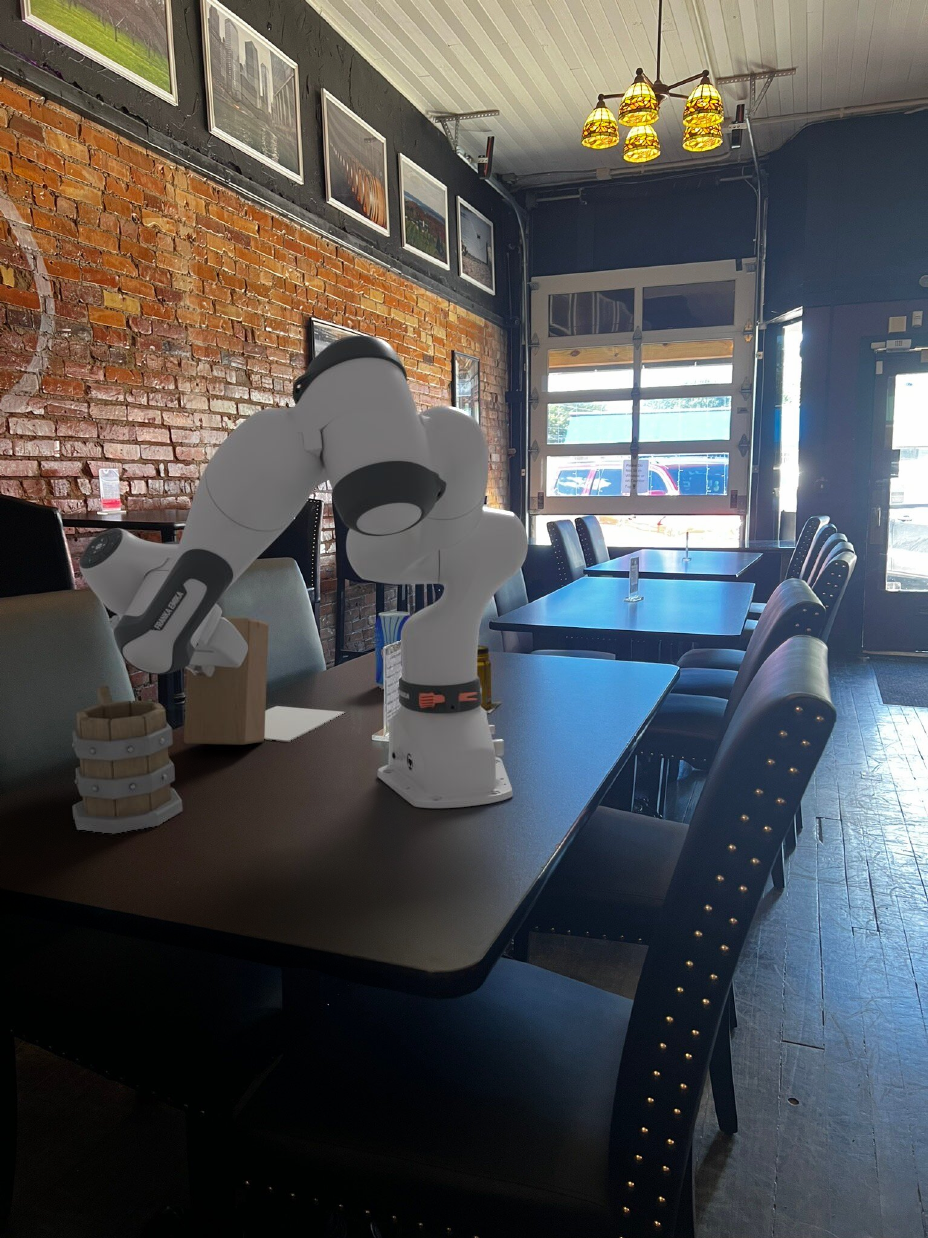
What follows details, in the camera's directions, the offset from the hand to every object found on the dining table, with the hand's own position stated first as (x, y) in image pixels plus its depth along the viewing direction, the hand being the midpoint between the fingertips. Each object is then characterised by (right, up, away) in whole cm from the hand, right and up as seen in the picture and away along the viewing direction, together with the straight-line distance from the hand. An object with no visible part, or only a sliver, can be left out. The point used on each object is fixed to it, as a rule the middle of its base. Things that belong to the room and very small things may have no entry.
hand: (205, 672), depth 134 cm
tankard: (-5, -17, -20) cm, 27 cm away
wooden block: (+2, -12, +5) cm, 13 cm away
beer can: (+26, -6, +49) cm, 56 cm away
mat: (+8, -11, +20) cm, 24 cm away
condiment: (+43, -9, +31) cm, 54 cm away
